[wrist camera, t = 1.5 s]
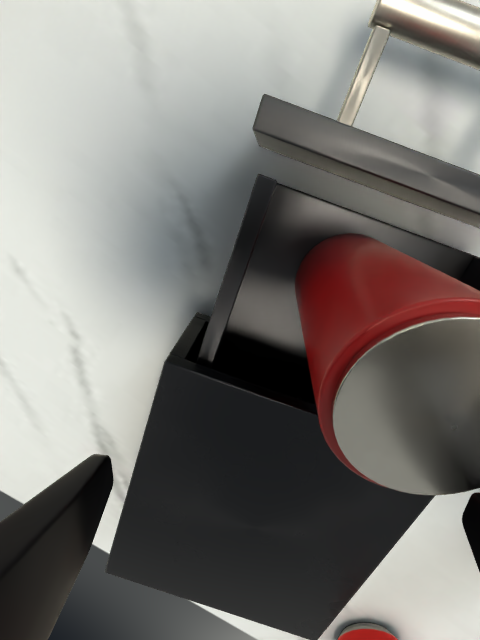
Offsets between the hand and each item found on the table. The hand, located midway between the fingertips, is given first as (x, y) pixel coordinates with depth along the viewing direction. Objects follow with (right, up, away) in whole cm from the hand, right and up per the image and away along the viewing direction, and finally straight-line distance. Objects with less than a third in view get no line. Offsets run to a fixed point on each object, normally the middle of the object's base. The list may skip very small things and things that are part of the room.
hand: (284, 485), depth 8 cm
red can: (+4, +6, +9) cm, 12 cm away
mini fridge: (0, -5, +16) cm, 17 cm away
